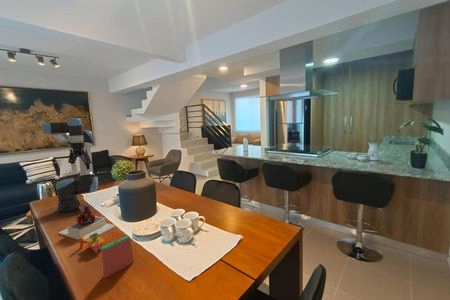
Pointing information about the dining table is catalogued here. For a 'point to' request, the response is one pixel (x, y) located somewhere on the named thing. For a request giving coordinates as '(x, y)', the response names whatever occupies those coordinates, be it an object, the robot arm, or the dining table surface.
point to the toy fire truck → (85, 215)
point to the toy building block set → (111, 252)
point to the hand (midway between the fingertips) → (81, 173)
